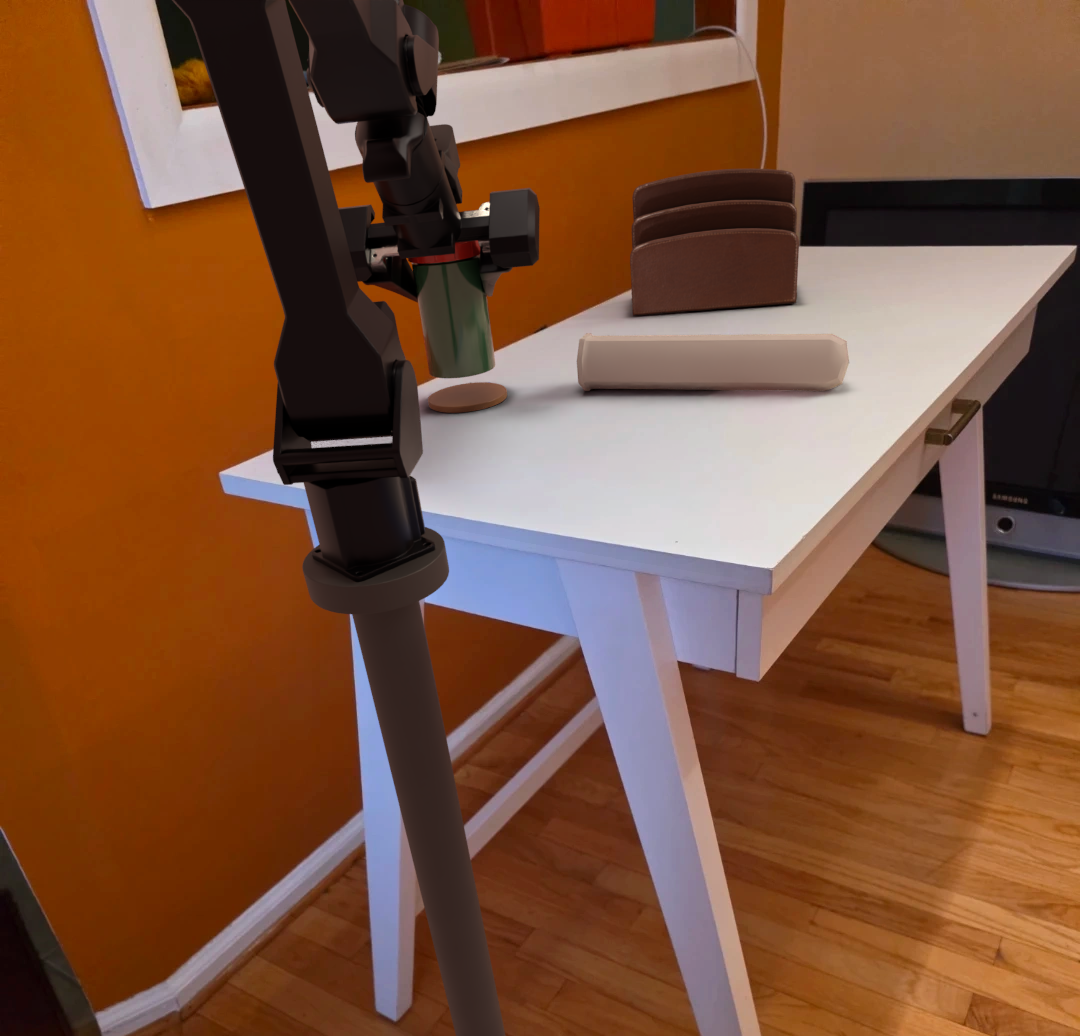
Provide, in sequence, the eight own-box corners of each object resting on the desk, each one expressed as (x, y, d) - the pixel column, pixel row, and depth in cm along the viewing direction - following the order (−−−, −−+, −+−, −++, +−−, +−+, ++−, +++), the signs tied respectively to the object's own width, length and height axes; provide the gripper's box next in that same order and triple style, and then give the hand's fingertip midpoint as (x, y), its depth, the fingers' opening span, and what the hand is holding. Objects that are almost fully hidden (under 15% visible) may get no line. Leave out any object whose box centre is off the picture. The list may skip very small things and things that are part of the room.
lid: (484, 257, 85) (481, 236, 84) (406, 266, 85) (403, 245, 84) (483, 246, 91) (481, 226, 90) (410, 255, 91) (407, 235, 90)
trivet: (459, 418, 91) (458, 411, 91) (413, 404, 96) (412, 398, 96) (523, 395, 95) (522, 389, 95) (475, 383, 100) (474, 378, 100)
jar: (496, 373, 91) (480, 242, 85) (428, 381, 91) (406, 251, 85) (494, 357, 96) (479, 233, 90) (430, 365, 96) (410, 241, 90)
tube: (854, 333, 87) (594, 335, 95) (851, 328, 82) (577, 330, 90) (847, 394, 88) (592, 391, 97) (844, 393, 84) (575, 390, 92)
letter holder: (636, 299, 126) (631, 177, 117) (790, 286, 122) (796, 161, 114) (631, 317, 118) (626, 188, 109) (796, 304, 114) (803, 170, 106)
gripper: (524, 74, 76) (551, 211, 91) (303, 101, 79) (365, 230, 94) (522, 196, 74) (550, 315, 89) (295, 219, 77) (360, 331, 92)
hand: (455, 295), depth 91 cm, fingers closed on jar, 6 cm apart
